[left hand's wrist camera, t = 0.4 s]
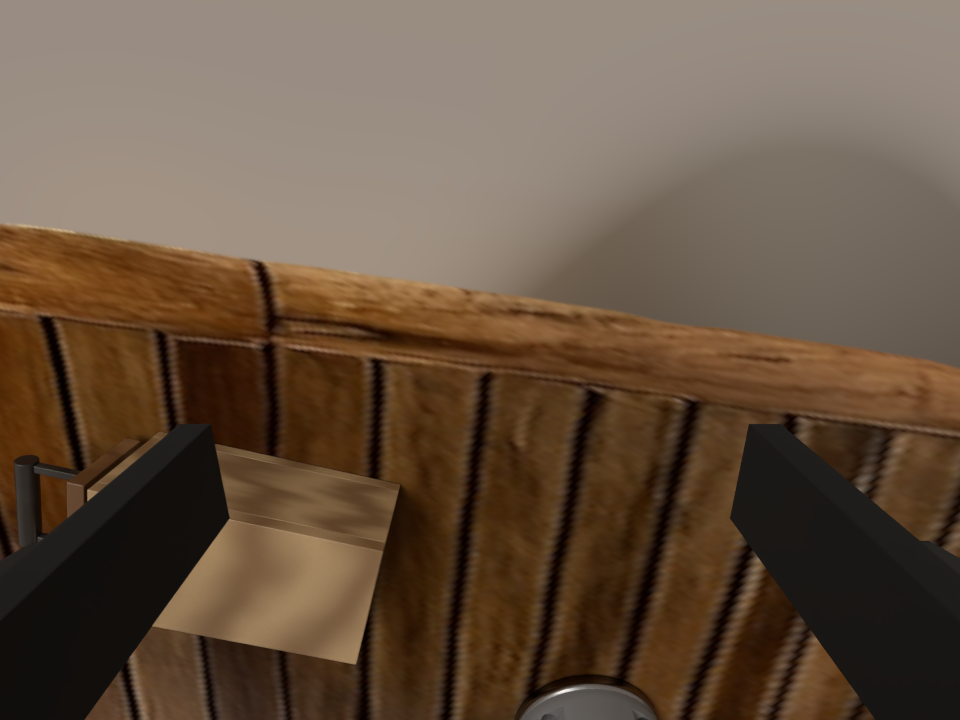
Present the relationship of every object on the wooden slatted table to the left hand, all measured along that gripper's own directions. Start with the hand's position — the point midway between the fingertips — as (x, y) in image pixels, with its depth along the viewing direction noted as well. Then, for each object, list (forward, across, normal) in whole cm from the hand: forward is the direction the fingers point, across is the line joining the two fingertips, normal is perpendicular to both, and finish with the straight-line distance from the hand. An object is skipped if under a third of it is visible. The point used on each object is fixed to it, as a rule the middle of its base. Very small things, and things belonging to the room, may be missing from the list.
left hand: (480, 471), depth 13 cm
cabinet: (+27, +18, +21) cm, 39 cm away
